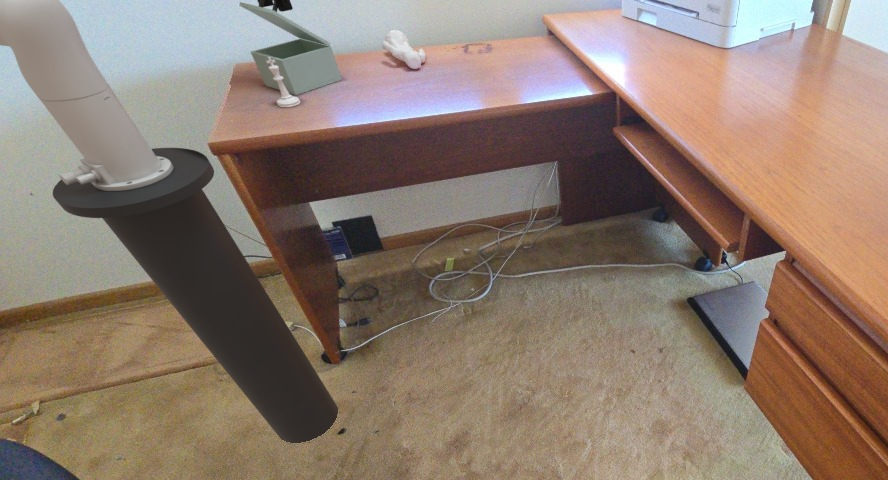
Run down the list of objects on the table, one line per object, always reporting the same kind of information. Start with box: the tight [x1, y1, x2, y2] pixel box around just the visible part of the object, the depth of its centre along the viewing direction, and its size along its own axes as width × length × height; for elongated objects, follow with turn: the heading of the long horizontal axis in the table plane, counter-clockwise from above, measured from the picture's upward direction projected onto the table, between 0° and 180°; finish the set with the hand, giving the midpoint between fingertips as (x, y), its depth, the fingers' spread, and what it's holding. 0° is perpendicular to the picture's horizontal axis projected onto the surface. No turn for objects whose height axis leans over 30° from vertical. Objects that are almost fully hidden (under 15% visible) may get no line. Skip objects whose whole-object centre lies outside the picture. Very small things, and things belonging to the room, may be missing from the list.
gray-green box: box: [250, 38, 343, 96], centre depth 130 cm, size 14×12×8 cm
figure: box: [381, 29, 426, 70], centre depth 145 cm, size 11×7×20 cm
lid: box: [239, 0, 331, 47], centre depth 124 cm, size 14×12×5 cm
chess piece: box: [266, 57, 301, 108], centre depth 119 cm, size 5×5×10 cm
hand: (276, 7), depth 121 cm, fingers closed on lid, 6 cm apart
